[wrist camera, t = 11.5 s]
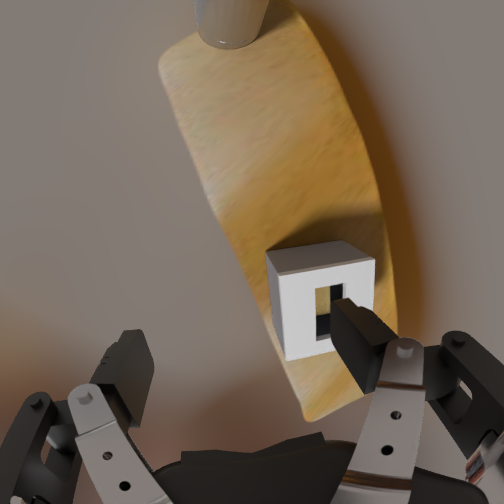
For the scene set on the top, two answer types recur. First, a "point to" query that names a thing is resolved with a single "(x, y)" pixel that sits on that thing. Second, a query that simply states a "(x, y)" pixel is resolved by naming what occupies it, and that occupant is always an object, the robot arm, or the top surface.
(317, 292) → the tan rectangular block
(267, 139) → the top surface
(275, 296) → the coin box
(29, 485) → the robot arm
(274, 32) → the top surface
